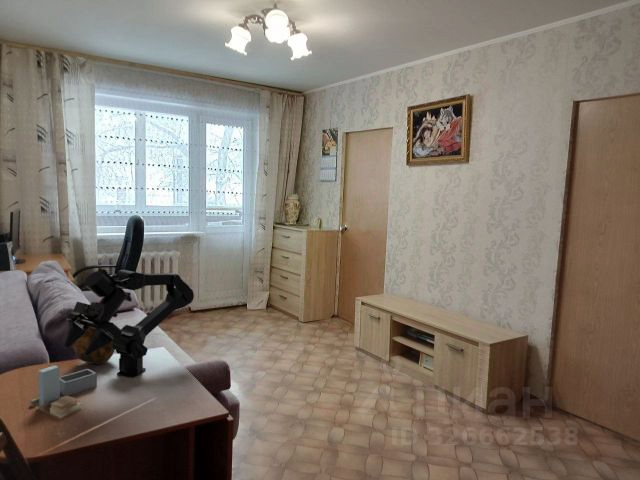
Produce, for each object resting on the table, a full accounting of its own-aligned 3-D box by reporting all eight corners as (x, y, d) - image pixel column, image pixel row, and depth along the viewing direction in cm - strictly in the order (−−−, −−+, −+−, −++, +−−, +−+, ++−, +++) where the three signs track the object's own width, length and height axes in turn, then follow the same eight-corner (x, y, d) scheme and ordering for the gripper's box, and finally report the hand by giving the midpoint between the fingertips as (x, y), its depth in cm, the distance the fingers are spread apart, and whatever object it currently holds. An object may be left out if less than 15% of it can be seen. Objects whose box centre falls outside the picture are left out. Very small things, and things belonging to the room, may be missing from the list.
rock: (122, 357, 163) (122, 316, 161) (103, 372, 150) (103, 327, 148) (87, 355, 163) (86, 314, 161) (65, 369, 151) (64, 325, 149)
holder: (88, 382, 142) (88, 368, 141) (96, 387, 139) (96, 373, 139) (56, 392, 135) (56, 377, 134) (65, 398, 132) (65, 382, 131)
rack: (53, 396, 132) (53, 385, 132) (84, 410, 126) (84, 398, 125) (28, 406, 126) (27, 394, 126) (59, 421, 120) (59, 409, 119)
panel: (55, 399, 130) (54, 365, 128) (59, 401, 129) (59, 366, 127) (39, 405, 126) (38, 370, 124) (43, 407, 125) (42, 372, 124)
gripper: (71, 285, 139) (35, 330, 131) (113, 295, 131) (77, 344, 122) (95, 305, 147) (62, 349, 139) (136, 316, 139) (103, 363, 130)
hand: (75, 351), depth 132 cm, fingers open, 9 cm apart
